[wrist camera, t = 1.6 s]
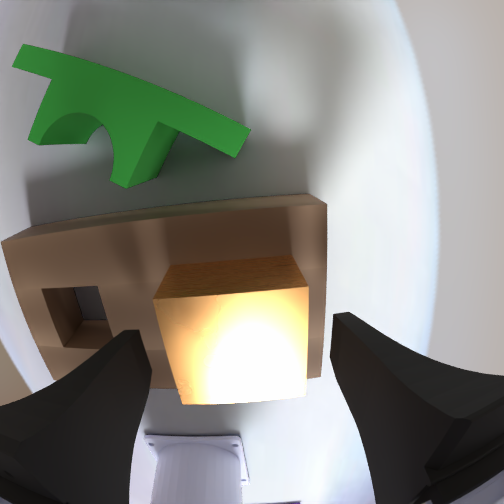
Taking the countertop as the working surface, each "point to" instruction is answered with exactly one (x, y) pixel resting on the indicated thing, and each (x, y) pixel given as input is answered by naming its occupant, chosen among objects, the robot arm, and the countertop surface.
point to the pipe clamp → (120, 114)
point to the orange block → (235, 329)
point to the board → (155, 269)
